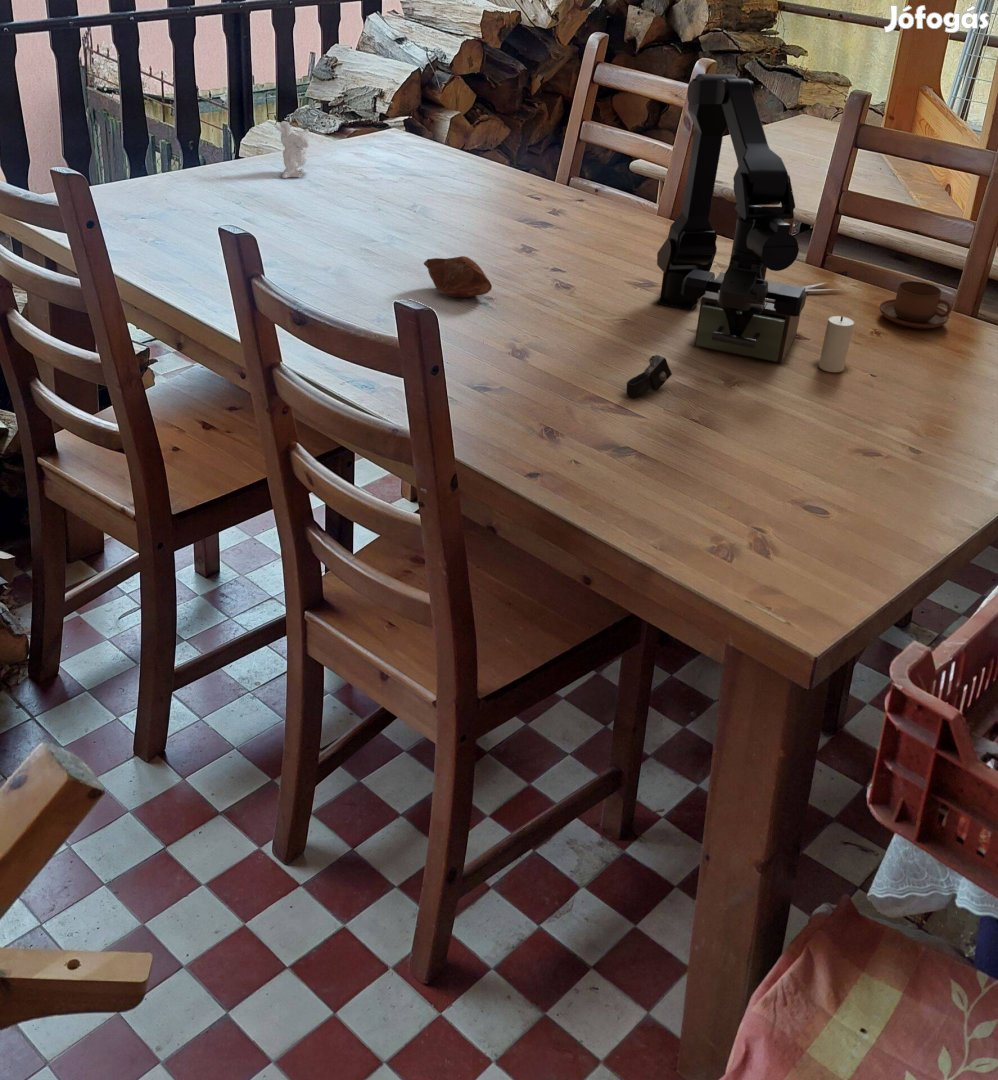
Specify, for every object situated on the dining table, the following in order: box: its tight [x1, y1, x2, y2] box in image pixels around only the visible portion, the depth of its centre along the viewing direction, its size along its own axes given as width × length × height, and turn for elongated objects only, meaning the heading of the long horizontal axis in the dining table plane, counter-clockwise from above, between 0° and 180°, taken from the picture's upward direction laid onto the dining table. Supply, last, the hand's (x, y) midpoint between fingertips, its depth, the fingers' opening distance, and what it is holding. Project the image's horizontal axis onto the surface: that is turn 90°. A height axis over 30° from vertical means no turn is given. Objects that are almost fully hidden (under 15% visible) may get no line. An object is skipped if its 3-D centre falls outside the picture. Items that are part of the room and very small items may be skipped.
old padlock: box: [626, 354, 673, 399], centre depth 179 cm, size 8×2×5 cm
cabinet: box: [694, 271, 805, 364], centre depth 197 cm, size 14×15×9 cm
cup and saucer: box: [879, 280, 952, 330], centre depth 210 cm, size 12×12×6 cm
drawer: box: [696, 303, 785, 362], centre depth 194 cm, size 17×13×7 cm
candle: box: [818, 315, 855, 373], centre depth 189 cm, size 4×4×9 cm
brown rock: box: [423, 255, 493, 299], centre depth 208 cm, size 13×8×10 cm
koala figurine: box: [274, 120, 310, 179], centre depth 267 cm, size 8×7×12 cm
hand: (734, 343), depth 189 cm, fingers closed, pressing on drawer
